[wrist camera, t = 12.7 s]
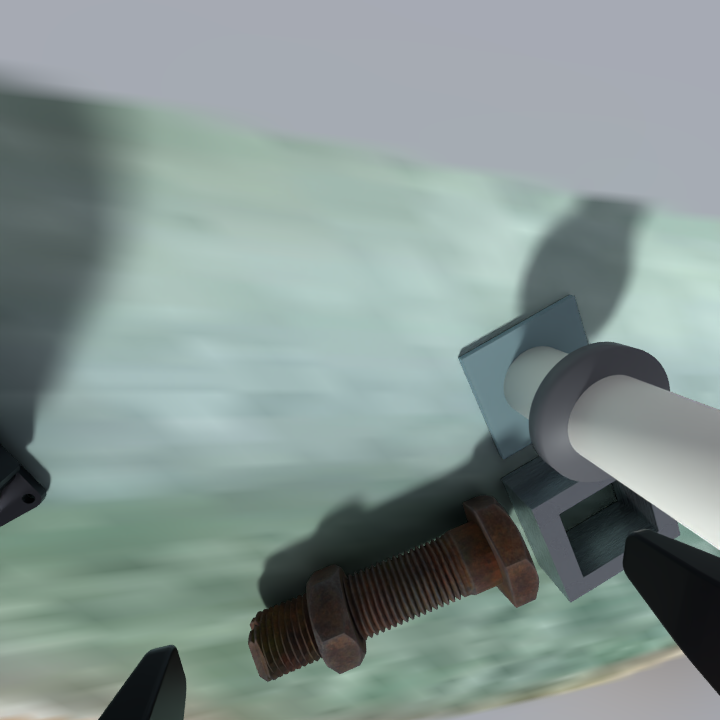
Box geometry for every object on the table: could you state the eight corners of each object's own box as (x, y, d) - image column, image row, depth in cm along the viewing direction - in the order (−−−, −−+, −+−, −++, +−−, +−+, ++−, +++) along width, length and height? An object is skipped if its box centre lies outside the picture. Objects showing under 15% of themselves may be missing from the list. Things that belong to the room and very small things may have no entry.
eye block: (538, 564, 27) (570, 602, 24) (501, 478, 24) (531, 509, 21) (637, 504, 27) (680, 534, 24) (611, 413, 24) (656, 435, 22)
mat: (500, 455, 23) (504, 459, 23) (458, 357, 21) (461, 360, 21) (599, 397, 24) (604, 400, 23) (569, 294, 21) (574, 295, 21)
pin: (522, 453, 23) (799, 686, 11) (461, 381, 21) (725, 573, 9) (604, 380, 23) (980, 534, 11) (552, 299, 21) (950, 378, 9)
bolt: (256, 580, 24) (477, 489, 26) (283, 666, 24) (511, 568, 25) (225, 624, 19) (511, 504, 20) (258, 740, 18) (557, 608, 19)
